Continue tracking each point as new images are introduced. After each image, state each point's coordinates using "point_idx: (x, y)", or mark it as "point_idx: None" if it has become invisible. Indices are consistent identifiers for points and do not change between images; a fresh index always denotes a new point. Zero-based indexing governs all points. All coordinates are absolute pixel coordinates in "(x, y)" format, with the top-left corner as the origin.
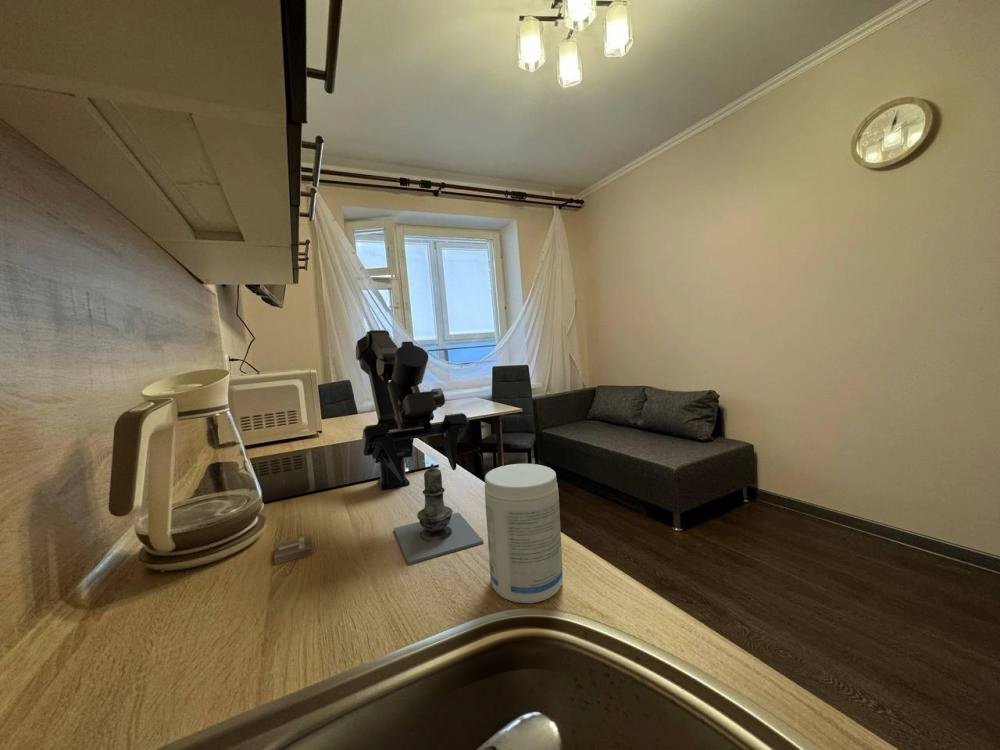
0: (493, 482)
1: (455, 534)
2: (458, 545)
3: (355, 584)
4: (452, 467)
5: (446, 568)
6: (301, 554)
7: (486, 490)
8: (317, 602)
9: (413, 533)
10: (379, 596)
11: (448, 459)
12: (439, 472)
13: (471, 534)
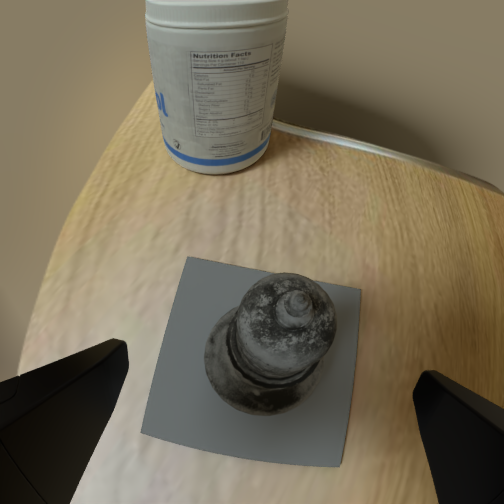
0: None
1: None
2: (243, 277)
3: (439, 293)
4: (122, 371)
5: (299, 234)
6: None
7: (286, 12)
8: (476, 283)
9: (308, 406)
10: (410, 241)
11: (93, 442)
12: (261, 282)
13: (189, 299)
